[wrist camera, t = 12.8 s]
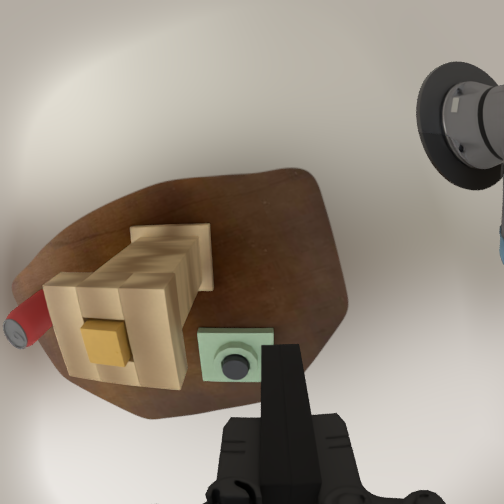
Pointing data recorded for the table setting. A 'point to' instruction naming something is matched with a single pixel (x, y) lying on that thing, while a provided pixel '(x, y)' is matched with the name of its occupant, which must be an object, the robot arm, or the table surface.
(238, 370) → the dark grey round knob
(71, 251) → the table surface
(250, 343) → the green knob base plate
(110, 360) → the yellow block
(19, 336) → the beer can
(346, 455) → the robot arm
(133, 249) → the bell stand
